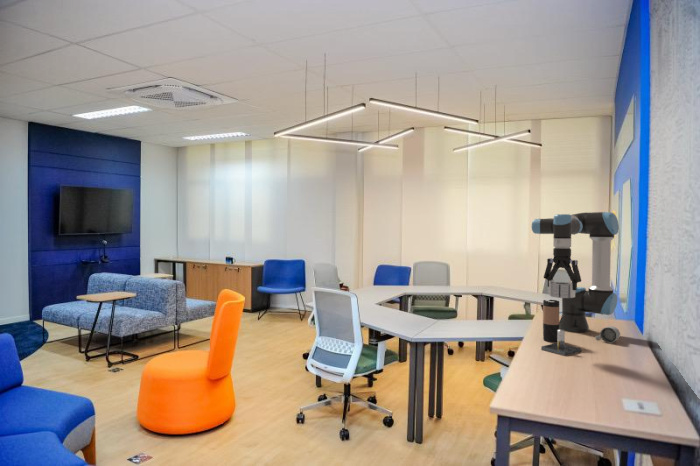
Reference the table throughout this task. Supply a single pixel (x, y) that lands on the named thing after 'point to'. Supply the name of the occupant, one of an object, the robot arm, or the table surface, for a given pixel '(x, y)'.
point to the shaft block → (561, 346)
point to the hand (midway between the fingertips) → (561, 295)
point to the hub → (560, 289)
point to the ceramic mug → (609, 334)
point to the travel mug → (550, 320)
